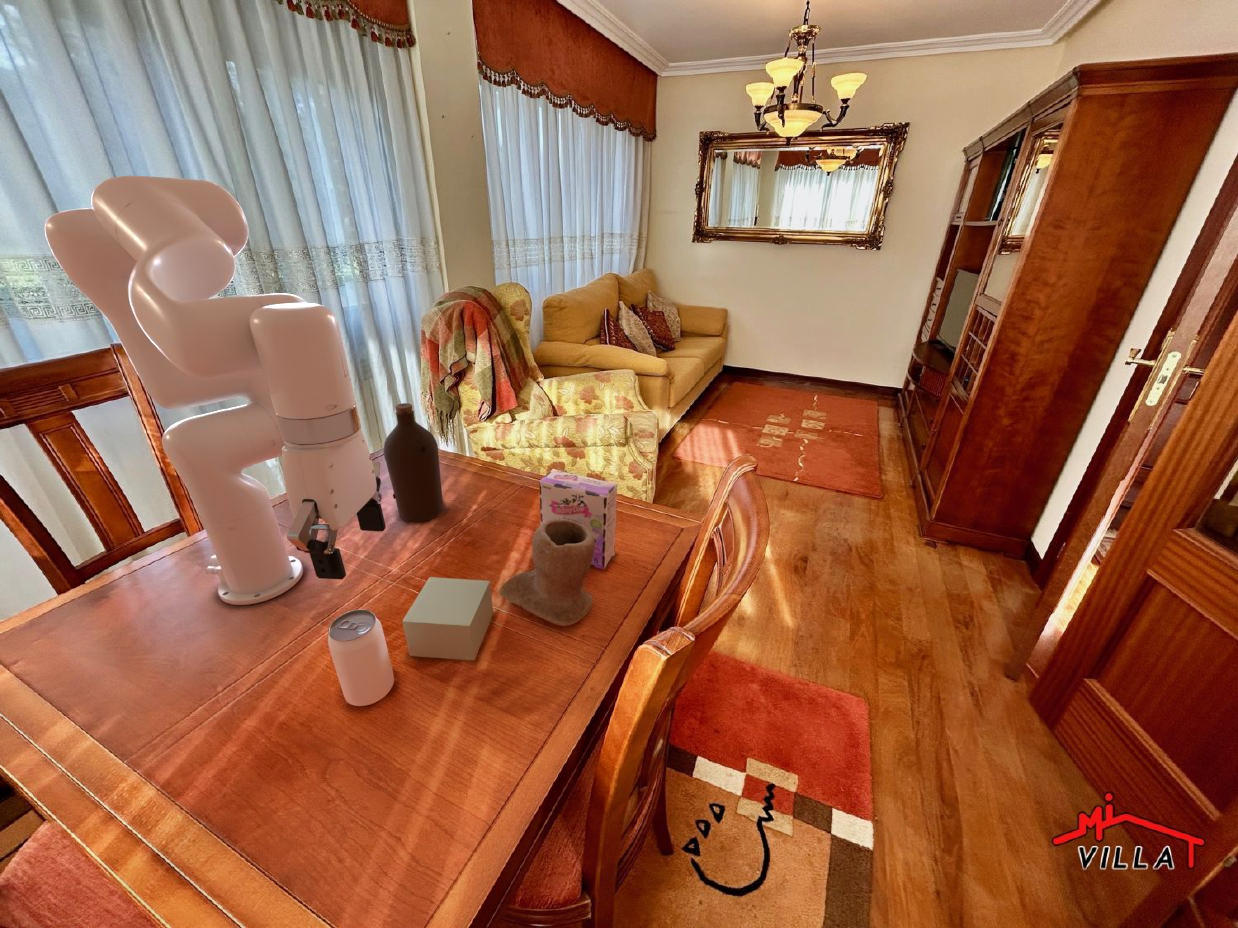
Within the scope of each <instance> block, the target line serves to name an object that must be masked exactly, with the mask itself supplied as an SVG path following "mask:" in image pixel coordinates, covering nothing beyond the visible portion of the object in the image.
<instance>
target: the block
mask: <svg viewBox="0 0 1238 928" xmlns="http://www.w3.org/2000/svg"><path fill="white" fill-rule="evenodd" d="M491 587H492V586H491V581H490V580H482V579H465V578H453V577H451V578H449V577H437V576H435V577H434V576H429V577H428V579H427V580H426V582H425V584H424V585H423V587H422V588H421V590H420V592H419V593H418V595H417V596H416V598H415V599H414V601H413V603H412V604H411V606H410V608H409V609H408V611H407V613H406V614H405V616H404V617H403V619H402V621H401V622H402V627H403V632H404V636H405V641H406V646H407V650H408V654H409V657H420V658H432V659H434V658H435V659H445V660H460V661H475V660H476V657H477V655H478V652H479V650H480V648H481V646H482V643H483V641H484V638H485V635H486V633H487V630H488V628H489V625H490V622H491V621H492V618H493V615H494V608H493V598H492V597H493V596H492V588H491Z"/></svg>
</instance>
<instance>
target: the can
mask: <svg viewBox="0 0 1238 928" xmlns="http://www.w3.org/2000/svg"><path fill="white" fill-rule="evenodd" d="M327 632H328V636H327V646H328V650H329V653H330V656H331V659H332V663H333V666H334V669H335V673H336V676H337V679H338V682H339V685H340V688H341V691H342V694H343V697H344V700H345V701H346V702H347V703H348V704H349V705H352V706H354V707H366V706H371V705H373V704H375V703H377V702H380V701H381V700H382V699H384V698H385V697H386V696H387V695H388V694H389V692H390V691H391V690H392V689H393V686H394V683H395V675H394V670H393V666H392V663H391V658H390V654H389V649H388V645H387V641H386V637H385V633H384V629H383V626H382V623H381V621H380V619H378V618H377V616H376V614H375V613H374V612H373V611H372V610H370V609H364V608H362V609H361V608H360V609H353V610H350V611H347V612H344V613H342V614H340V615H339V616H337V617H336V618H335V619H334V620H333V621H332V622H331V623H330V625H329V627H328V630H327Z"/></svg>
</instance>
